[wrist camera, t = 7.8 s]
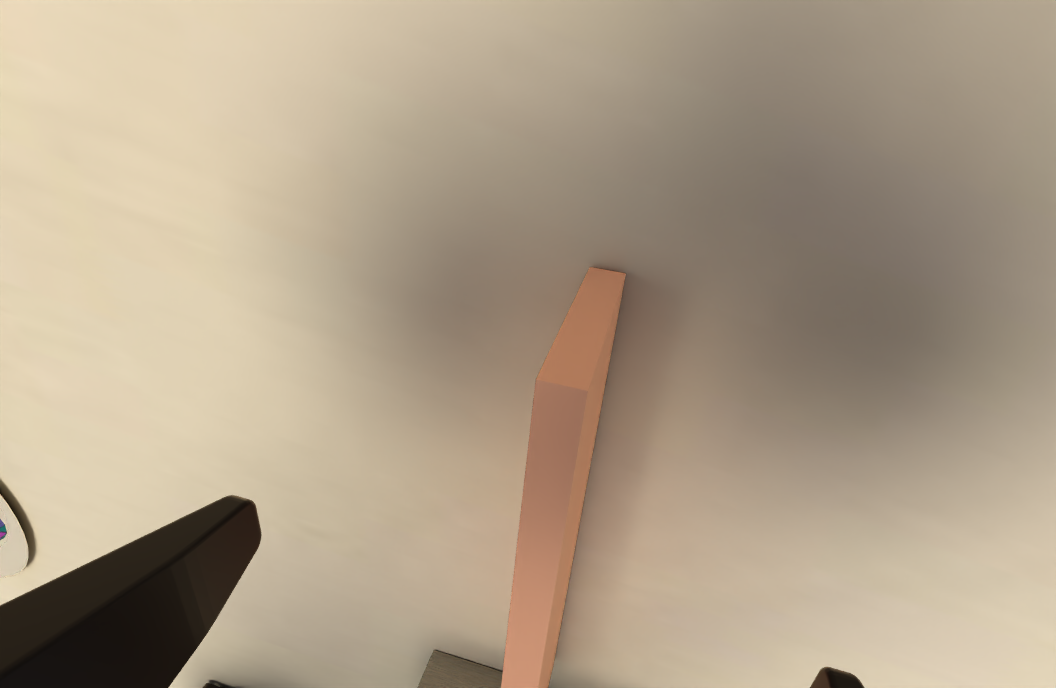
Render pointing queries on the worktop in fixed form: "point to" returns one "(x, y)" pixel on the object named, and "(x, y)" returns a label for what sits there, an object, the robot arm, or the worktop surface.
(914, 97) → the worktop surface
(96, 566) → the robot arm
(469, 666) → the grey upright box
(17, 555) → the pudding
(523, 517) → the salmon pink plank
